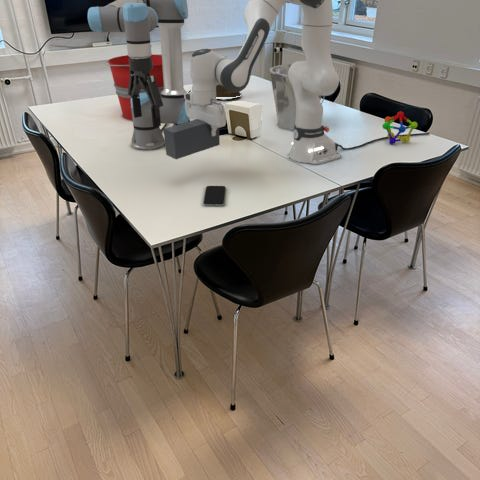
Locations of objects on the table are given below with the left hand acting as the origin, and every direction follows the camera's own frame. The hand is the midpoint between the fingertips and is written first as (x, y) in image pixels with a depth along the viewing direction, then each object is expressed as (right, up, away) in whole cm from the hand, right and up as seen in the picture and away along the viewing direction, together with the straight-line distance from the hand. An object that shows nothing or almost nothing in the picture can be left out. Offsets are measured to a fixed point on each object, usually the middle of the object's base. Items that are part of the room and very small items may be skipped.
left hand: (147, 121), depth 155 cm
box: (+15, -7, +15) cm, 22 cm away
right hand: (+20, 0, +16) cm, 25 cm away
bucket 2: (+62, +19, +79) cm, 102 cm away
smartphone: (+23, -26, +6) cm, 35 cm away
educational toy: (+107, +5, +56) cm, 121 cm away
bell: (+24, +49, +127) cm, 138 cm away
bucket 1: (-21, +29, +94) cm, 100 cm away
